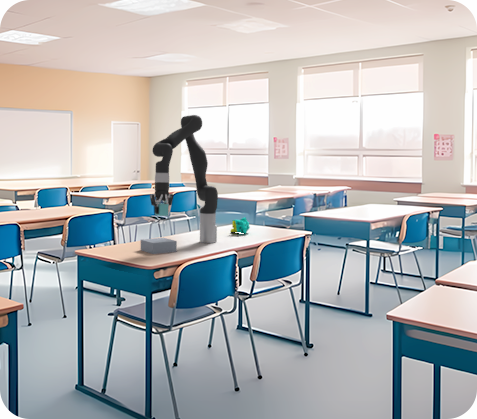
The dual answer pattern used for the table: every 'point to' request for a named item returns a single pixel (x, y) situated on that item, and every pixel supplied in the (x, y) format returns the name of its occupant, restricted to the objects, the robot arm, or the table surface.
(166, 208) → the teal block
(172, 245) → the slate block
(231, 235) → the table surface
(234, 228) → the teal lumpy shape
